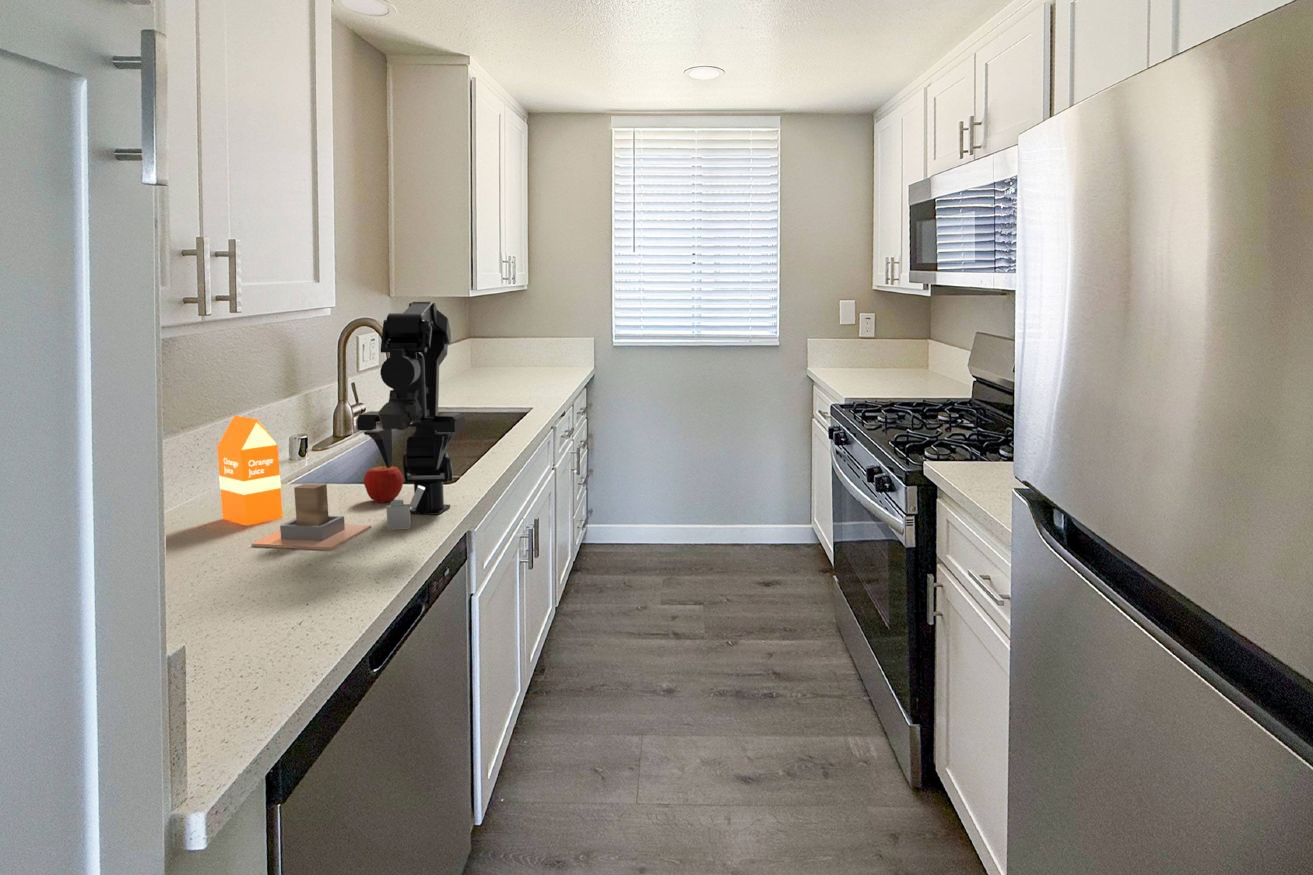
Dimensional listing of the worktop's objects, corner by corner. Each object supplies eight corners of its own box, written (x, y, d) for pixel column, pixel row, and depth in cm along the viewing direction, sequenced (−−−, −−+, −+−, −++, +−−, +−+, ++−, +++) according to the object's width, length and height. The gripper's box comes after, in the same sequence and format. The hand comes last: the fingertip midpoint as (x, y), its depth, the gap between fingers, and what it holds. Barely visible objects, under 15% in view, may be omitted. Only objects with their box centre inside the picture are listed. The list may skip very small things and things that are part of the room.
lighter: (387, 529, 176) (385, 487, 174) (388, 527, 177) (386, 485, 176) (426, 527, 177) (424, 486, 175) (426, 525, 178) (425, 484, 177)
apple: (362, 498, 201) (360, 462, 199) (400, 495, 204) (398, 459, 203) (368, 506, 194) (366, 469, 192) (406, 502, 197) (405, 466, 196)
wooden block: (309, 530, 173) (306, 482, 171) (329, 531, 172) (326, 483, 171) (297, 536, 169) (294, 487, 167) (318, 537, 168) (314, 488, 167)
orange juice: (246, 525, 179) (238, 421, 175) (221, 518, 184) (213, 417, 181) (283, 517, 185) (276, 416, 181) (259, 511, 190) (252, 413, 187)
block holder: (297, 524, 179) (296, 509, 179) (371, 527, 177) (370, 512, 176) (251, 546, 164) (250, 529, 164) (331, 550, 162) (330, 533, 162)
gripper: (338, 387, 163) (343, 475, 165) (441, 389, 160) (444, 479, 162) (368, 380, 174) (372, 463, 176) (464, 382, 171) (467, 466, 173)
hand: (412, 468), depth 172 cm, fingers open, 9 cm apart
